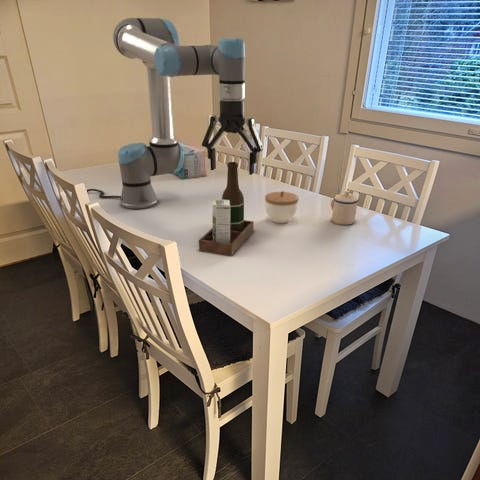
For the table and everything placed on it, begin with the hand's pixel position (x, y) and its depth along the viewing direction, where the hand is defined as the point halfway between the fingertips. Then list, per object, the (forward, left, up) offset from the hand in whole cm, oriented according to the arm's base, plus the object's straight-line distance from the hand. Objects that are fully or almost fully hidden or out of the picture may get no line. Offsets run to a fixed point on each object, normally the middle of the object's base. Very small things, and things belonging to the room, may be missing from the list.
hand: (232, 171), depth 138 cm
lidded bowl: (+12, +20, -22) cm, 33 cm away
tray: (0, -6, -22) cm, 23 cm away
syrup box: (0, -11, -22) cm, 24 cm away
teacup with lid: (+34, +28, -22) cm, 50 cm away
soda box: (-60, +76, -22) cm, 100 cm away
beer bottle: (0, 0, -21) cm, 21 cm away
